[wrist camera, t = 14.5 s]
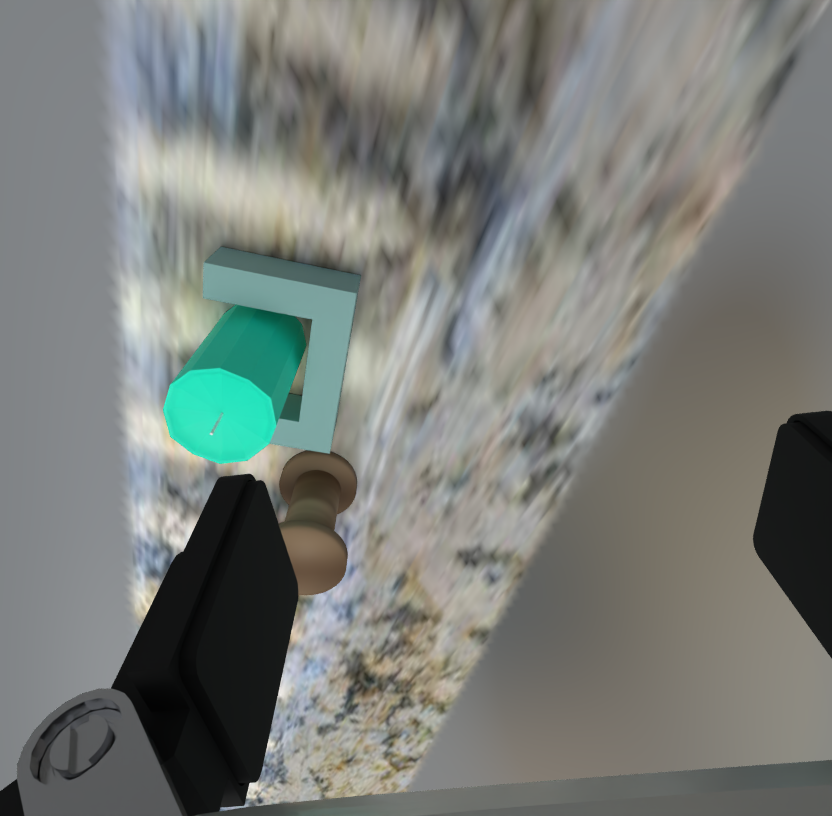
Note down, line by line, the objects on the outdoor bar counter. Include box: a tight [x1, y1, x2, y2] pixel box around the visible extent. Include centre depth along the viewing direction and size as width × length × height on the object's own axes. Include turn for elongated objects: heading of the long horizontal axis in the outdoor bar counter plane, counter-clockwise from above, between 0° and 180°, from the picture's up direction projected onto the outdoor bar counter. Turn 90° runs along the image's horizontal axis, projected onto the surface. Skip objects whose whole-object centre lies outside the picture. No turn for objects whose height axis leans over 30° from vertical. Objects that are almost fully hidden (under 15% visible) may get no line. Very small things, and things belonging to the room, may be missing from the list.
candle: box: [163, 305, 306, 464], centre depth 34 cm, size 6×6×12 cm
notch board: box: [203, 247, 361, 454], centre depth 38 cm, size 12×9×4 cm
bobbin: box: [279, 450, 357, 595], centre depth 42 cm, size 6×6×9 cm
